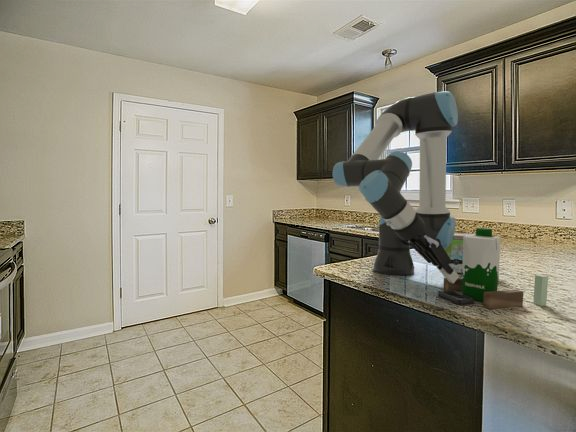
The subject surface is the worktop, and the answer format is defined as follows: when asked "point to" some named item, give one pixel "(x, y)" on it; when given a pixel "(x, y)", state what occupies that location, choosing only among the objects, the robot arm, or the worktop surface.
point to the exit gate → (540, 290)
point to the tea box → (456, 251)
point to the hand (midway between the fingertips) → (454, 279)
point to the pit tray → (456, 297)
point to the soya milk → (480, 263)
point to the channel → (491, 296)
